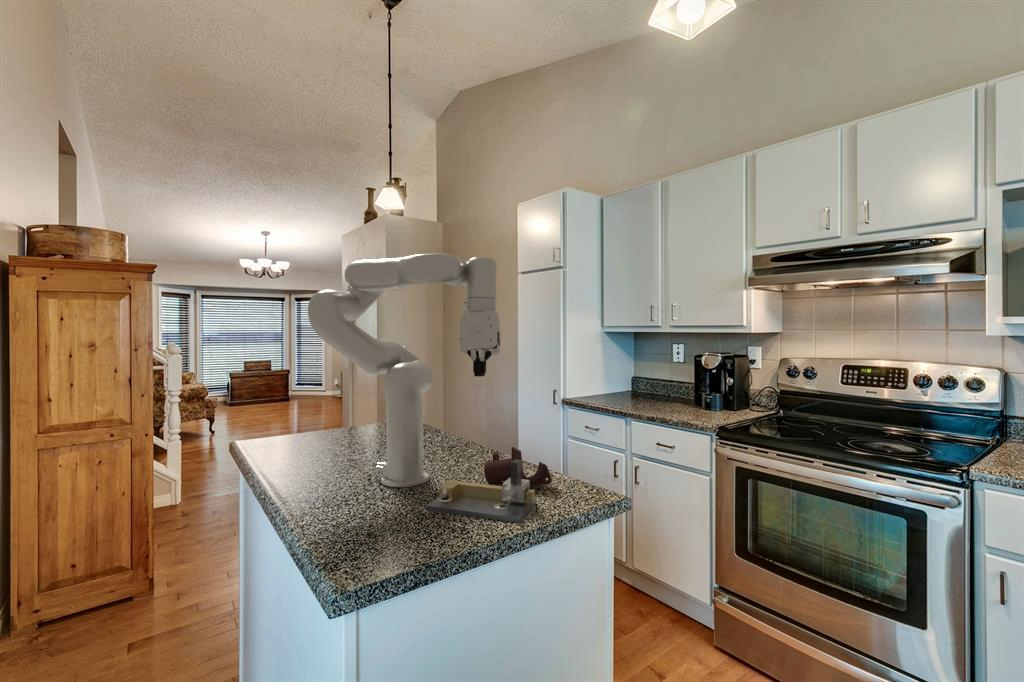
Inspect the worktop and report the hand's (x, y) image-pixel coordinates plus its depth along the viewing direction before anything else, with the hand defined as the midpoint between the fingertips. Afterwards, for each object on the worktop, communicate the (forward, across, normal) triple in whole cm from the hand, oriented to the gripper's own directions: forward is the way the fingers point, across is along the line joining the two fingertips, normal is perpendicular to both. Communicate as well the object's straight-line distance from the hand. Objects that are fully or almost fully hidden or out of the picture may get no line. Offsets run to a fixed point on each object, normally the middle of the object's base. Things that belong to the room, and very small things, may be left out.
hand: (479, 375), depth 123 cm
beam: (+27, +8, -12) cm, 31 cm away
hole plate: (+28, +8, -14) cm, 33 cm away
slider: (+27, +15, -12) cm, 33 cm away
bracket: (+29, +10, +4) cm, 31 cm away
